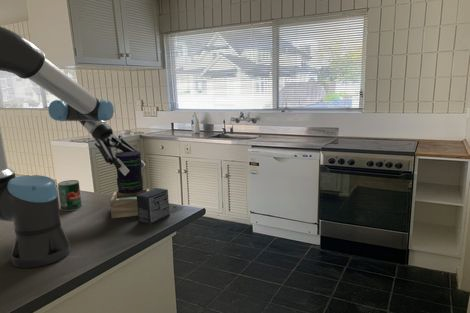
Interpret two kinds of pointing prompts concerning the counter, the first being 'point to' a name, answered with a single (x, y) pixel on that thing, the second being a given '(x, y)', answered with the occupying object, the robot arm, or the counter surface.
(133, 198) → the open wooden box
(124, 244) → the counter surface
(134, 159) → the blue metal drum
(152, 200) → the small box
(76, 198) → the canned tomato
